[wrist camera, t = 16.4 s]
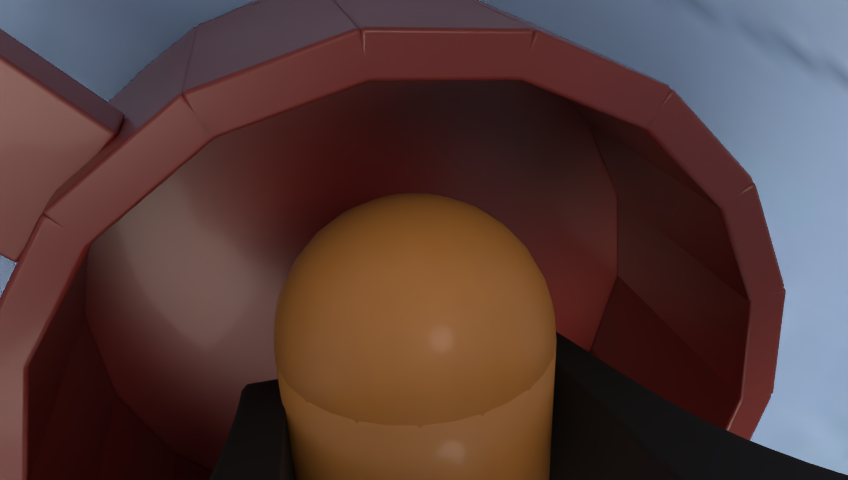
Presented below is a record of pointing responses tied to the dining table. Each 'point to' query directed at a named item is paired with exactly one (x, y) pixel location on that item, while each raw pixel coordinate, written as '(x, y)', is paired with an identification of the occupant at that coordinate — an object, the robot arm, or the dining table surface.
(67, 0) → the dining table surface
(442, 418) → the bread roll
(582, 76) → the pot
